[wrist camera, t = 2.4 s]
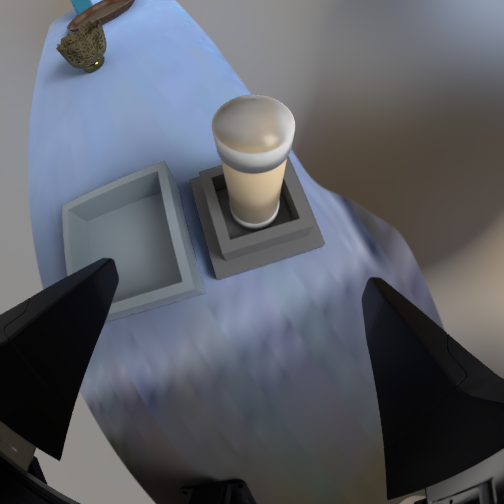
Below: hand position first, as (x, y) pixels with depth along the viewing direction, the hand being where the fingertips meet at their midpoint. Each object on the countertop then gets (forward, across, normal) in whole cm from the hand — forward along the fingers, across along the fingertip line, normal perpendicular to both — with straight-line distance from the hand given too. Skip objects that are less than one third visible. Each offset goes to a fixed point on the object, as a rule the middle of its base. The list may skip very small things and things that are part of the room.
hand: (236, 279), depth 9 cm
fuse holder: (+14, 0, +4) cm, 15 cm away
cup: (+32, +27, -13) cm, 44 cm away
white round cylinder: (+14, 0, +3) cm, 14 cm away
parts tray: (+11, +10, +7) cm, 17 cm away
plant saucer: (+50, +38, -30) cm, 69 cm away
